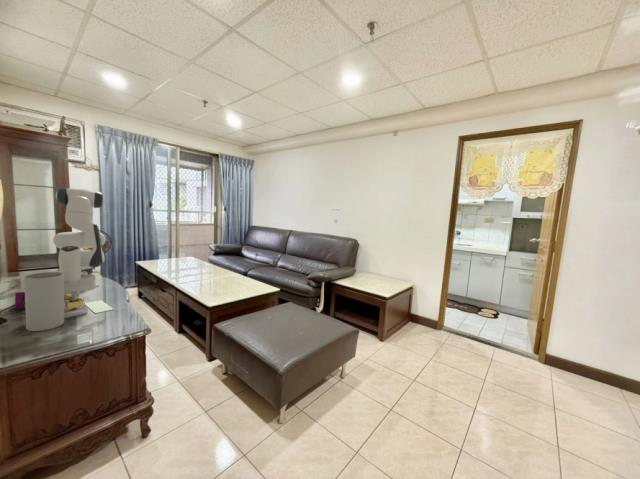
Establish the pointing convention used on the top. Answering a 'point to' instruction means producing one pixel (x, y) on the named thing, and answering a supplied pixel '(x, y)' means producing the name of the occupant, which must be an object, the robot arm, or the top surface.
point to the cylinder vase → (44, 300)
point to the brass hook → (70, 304)
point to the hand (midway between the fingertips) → (70, 300)
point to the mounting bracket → (19, 300)
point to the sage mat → (98, 306)
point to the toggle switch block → (74, 309)
